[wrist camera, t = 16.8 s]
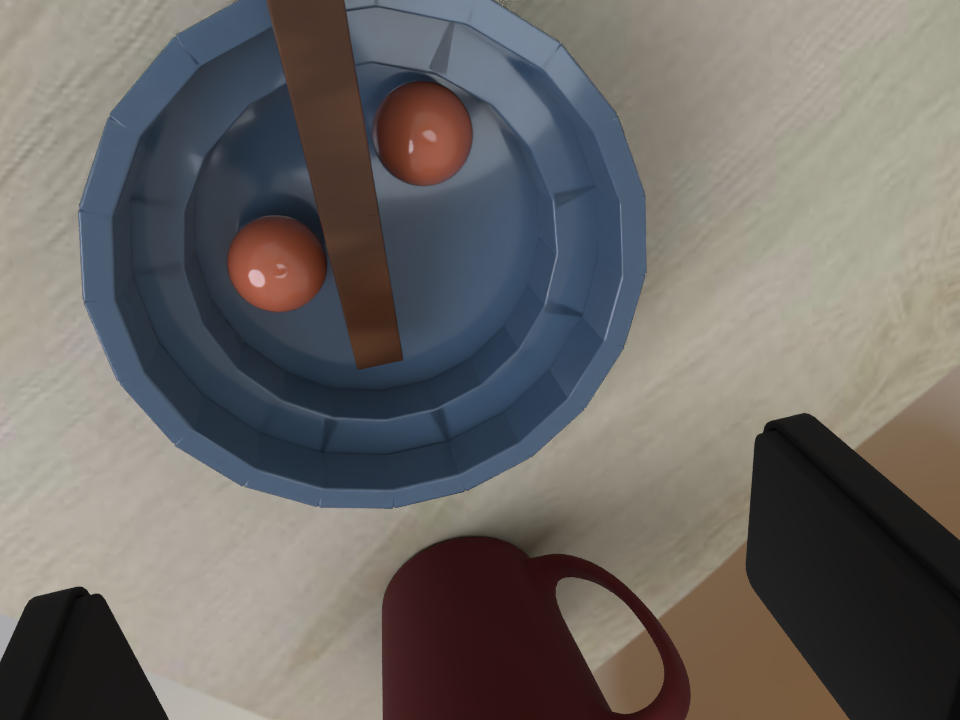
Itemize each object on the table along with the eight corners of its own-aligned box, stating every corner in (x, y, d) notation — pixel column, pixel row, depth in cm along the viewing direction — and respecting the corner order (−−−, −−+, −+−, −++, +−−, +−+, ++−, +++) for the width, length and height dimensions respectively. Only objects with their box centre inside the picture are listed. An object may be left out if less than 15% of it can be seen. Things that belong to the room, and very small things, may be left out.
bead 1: (216, 313, 23) (197, 220, 21) (293, 285, 25) (280, 198, 23) (275, 337, 21) (258, 236, 19) (352, 305, 23) (342, 212, 22)
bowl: (210, 467, 27) (192, 557, 23) (38, 18, 20) (-37, 26, 16) (599, 380, 29) (649, 448, 25) (576, -58, 22) (642, -70, 17)
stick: (357, 371, 24) (105, -647, 9) (350, 337, 25) (114, -631, 10) (403, 361, 24) (237, -647, 9) (395, 327, 25) (233, -632, 10)
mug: (537, 443, 30) (645, 655, 20) (640, 552, 34) (769, 771, 25) (323, 605, 32) (330, 874, 22) (447, 691, 36) (497, 947, 26)
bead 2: (411, 91, 19) (344, 83, 21) (420, 204, 20) (357, 187, 22) (492, 77, 20) (424, 71, 22) (495, 182, 22) (431, 168, 24)
